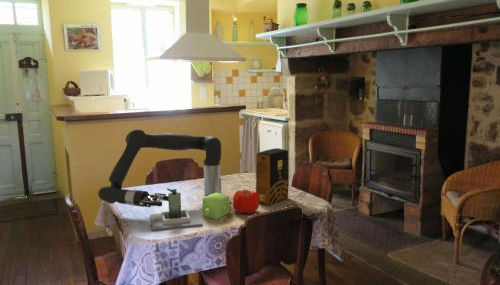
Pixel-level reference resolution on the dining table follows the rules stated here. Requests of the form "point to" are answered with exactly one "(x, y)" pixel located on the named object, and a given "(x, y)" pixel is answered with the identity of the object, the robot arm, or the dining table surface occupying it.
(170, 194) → the spout can
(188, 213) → the pad
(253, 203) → the tomato
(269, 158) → the black and gold box
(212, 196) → the gearbox
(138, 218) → the dining table surface
